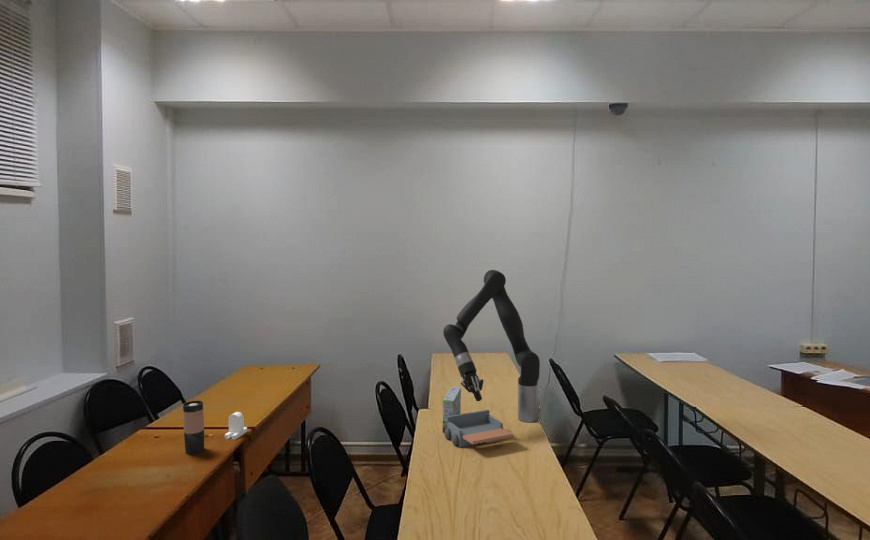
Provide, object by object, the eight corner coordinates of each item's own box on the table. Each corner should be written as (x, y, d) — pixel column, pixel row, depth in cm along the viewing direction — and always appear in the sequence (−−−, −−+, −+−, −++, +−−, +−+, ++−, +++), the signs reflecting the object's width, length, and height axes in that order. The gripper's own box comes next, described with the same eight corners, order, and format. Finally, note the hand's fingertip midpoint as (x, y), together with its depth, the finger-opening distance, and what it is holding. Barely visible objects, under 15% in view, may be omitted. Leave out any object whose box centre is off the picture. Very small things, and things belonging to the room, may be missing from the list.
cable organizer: (247, 431, 235) (247, 409, 235) (235, 439, 226) (234, 417, 225) (237, 430, 236) (236, 409, 236) (224, 439, 227) (223, 416, 226)
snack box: (454, 433, 231) (454, 400, 230) (442, 432, 232) (441, 399, 231) (461, 417, 252) (461, 386, 251) (450, 416, 253) (450, 386, 252)
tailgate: (502, 428, 222) (513, 433, 214) (502, 432, 222) (513, 438, 214) (462, 435, 215) (472, 441, 207) (462, 439, 215) (472, 446, 207)
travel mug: (209, 448, 217) (207, 401, 215) (195, 455, 210) (193, 407, 208) (194, 445, 219) (192, 399, 218) (180, 453, 212) (178, 405, 211)
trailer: (490, 428, 236) (490, 409, 236) (505, 438, 225) (505, 418, 224) (444, 436, 227) (443, 416, 227) (456, 447, 215) (456, 426, 215)
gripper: (460, 360, 226) (474, 397, 217) (480, 360, 235) (495, 395, 226) (449, 369, 230) (463, 405, 222) (470, 368, 239) (484, 403, 230)
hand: (479, 400), depth 224 cm, fingers closed
